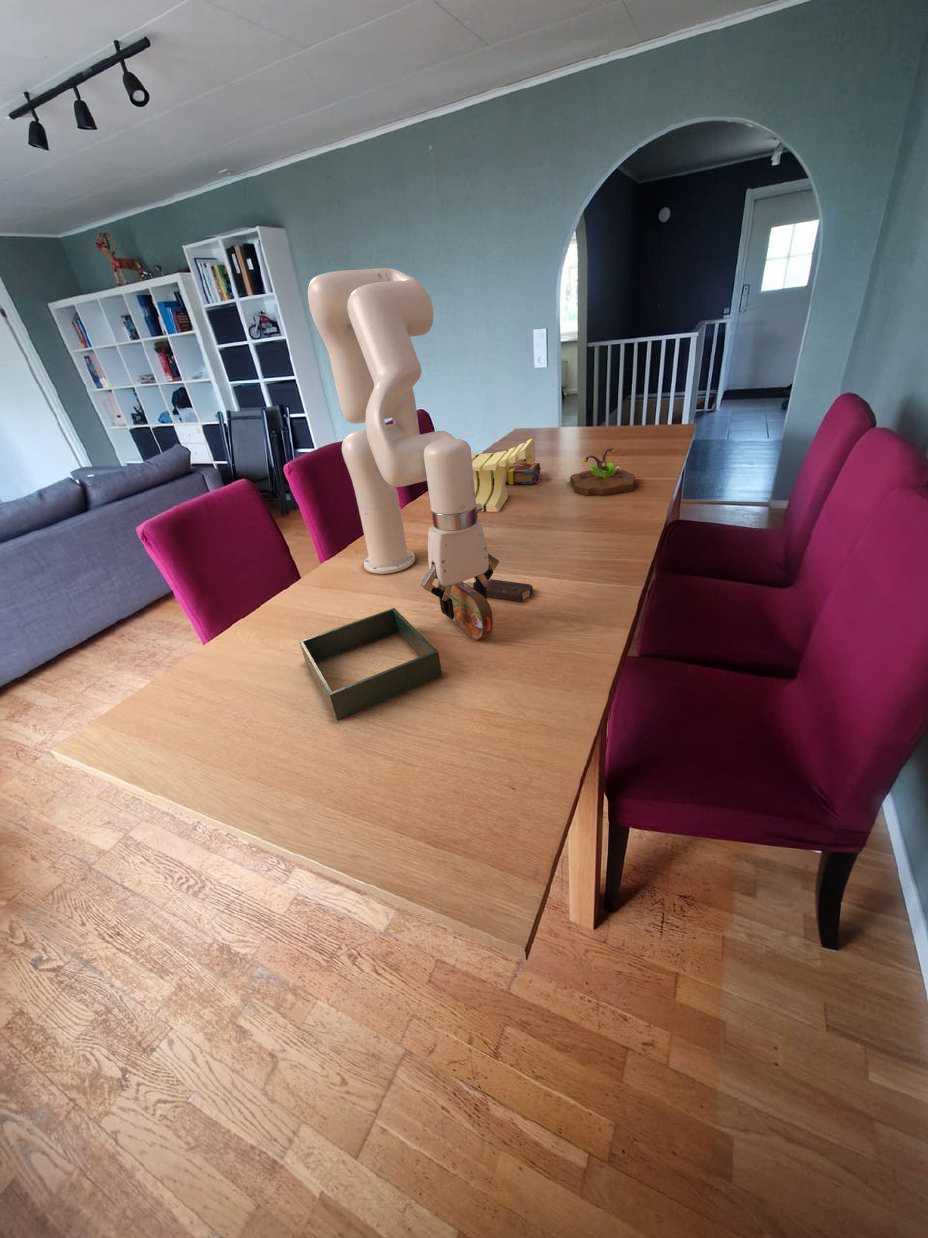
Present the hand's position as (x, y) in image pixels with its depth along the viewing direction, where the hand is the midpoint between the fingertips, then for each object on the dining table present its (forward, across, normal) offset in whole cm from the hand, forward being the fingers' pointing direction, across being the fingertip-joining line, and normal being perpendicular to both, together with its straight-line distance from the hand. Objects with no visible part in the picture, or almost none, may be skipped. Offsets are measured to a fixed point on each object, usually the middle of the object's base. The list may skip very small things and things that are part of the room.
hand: (464, 608), depth 95 cm
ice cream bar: (+4, -12, -8) cm, 15 cm away
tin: (+4, 0, 0) cm, 4 cm away
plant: (+4, -77, -46) cm, 90 cm away
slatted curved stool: (+4, -41, -60) cm, 73 cm away
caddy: (+4, +20, +2) cm, 20 cm away
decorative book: (+4, -62, -72) cm, 95 cm away
